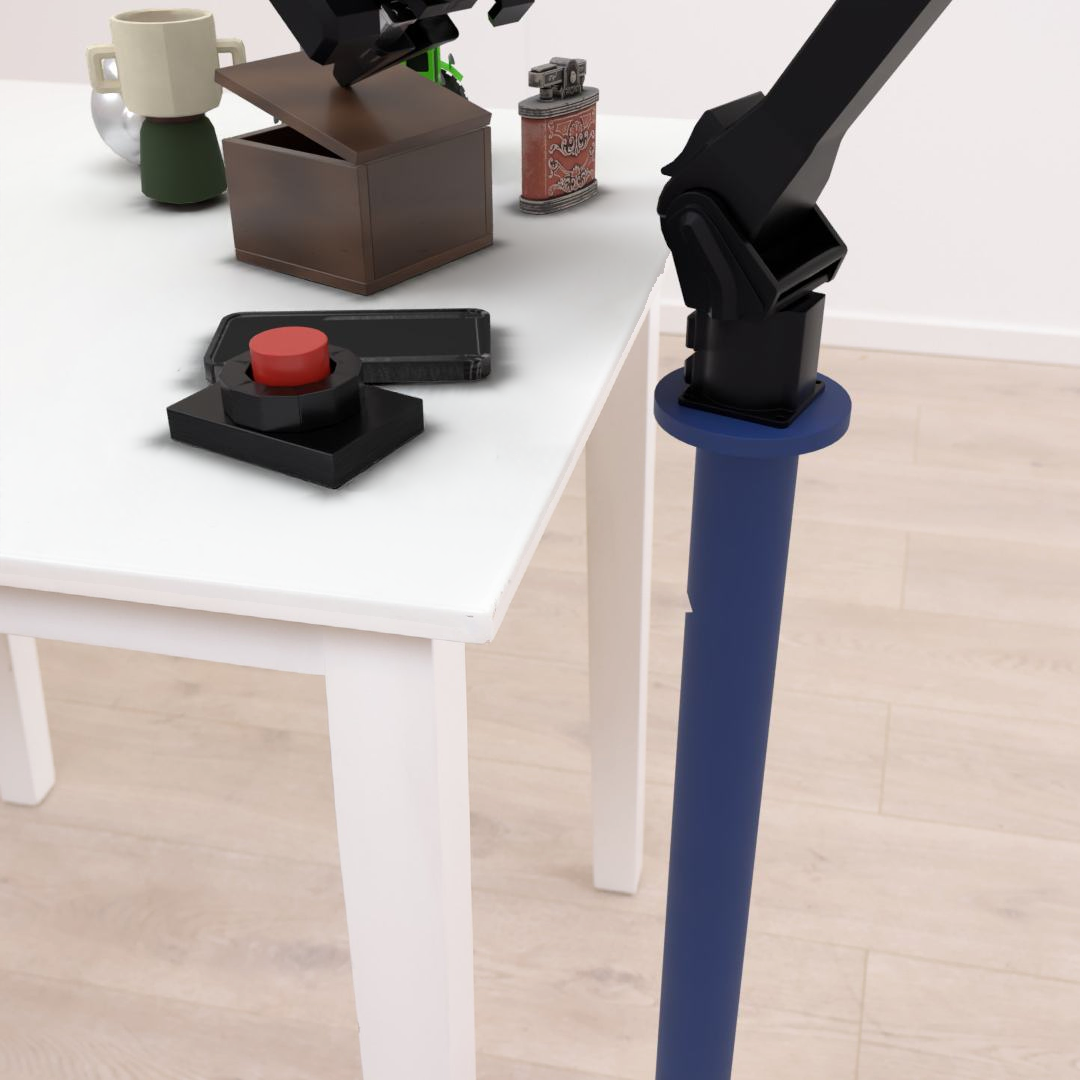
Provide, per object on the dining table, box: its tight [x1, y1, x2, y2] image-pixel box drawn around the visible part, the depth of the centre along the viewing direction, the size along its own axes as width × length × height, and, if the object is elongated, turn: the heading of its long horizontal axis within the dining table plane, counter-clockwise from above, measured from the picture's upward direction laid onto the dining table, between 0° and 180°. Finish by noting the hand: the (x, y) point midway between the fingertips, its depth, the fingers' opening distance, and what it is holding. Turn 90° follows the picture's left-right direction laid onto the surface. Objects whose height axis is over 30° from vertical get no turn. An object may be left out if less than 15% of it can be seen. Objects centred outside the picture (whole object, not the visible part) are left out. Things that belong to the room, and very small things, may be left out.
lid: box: [214, 50, 493, 166], centre depth 82 cm, size 12×13×1 cm
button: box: [249, 327, 331, 386], centre depth 61 cm, size 4×4×2 cm
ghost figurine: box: [90, 58, 207, 166], centre depth 104 cm, size 9×10×10 cm
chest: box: [221, 123, 494, 297], centre depth 85 cm, size 12×13×8 cm
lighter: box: [517, 56, 600, 215], centre depth 95 cm, size 8×3×10 cm, turn 145°
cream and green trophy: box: [85, 7, 247, 205], centre depth 94 cm, size 11×7×13 cm, turn 105°
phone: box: [203, 307, 492, 385], centre depth 71 cm, size 8×1×15 cm
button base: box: [165, 344, 425, 489], centre depth 62 cm, size 10×7×4 cm
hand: (340, 80), depth 82 cm, fingers closed
